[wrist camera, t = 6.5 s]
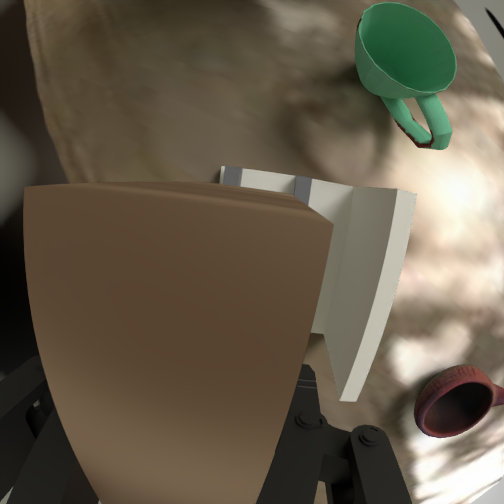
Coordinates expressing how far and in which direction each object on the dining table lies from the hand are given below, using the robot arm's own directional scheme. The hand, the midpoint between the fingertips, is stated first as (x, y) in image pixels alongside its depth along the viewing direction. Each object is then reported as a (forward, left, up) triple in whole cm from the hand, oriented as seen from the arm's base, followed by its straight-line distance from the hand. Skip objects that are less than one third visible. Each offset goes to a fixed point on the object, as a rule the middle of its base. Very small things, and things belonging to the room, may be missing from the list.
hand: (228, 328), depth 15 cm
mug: (-20, +12, -19) cm, 30 cm away
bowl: (+16, +33, -19) cm, 41 cm away
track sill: (0, +3, -19) cm, 19 cm away
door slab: (0, 0, -2) cm, 2 cm away
